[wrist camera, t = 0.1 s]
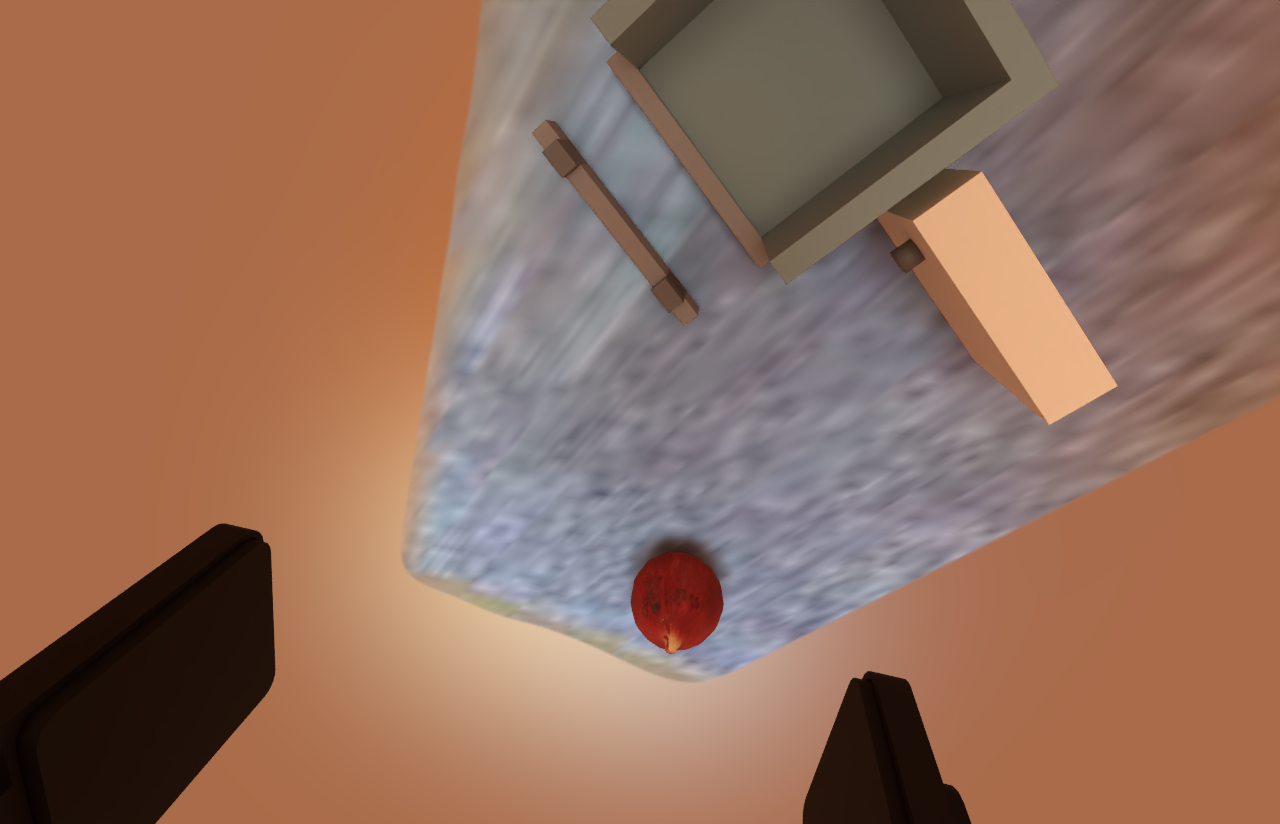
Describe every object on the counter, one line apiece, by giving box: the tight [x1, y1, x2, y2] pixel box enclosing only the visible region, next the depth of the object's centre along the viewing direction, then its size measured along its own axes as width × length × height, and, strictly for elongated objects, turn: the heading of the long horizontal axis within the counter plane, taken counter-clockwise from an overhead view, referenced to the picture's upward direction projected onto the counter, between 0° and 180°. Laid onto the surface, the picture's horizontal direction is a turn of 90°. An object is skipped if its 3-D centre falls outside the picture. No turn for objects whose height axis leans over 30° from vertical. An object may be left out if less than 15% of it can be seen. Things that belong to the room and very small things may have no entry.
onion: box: [631, 552, 724, 654], centre depth 42 cm, size 6×6×8 cm
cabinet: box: [532, 0, 1059, 326], centre depth 31 cm, size 18×13×10 cm
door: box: [877, 169, 1117, 425], centre depth 33 cm, size 4×11×10 cm, turn 39°
